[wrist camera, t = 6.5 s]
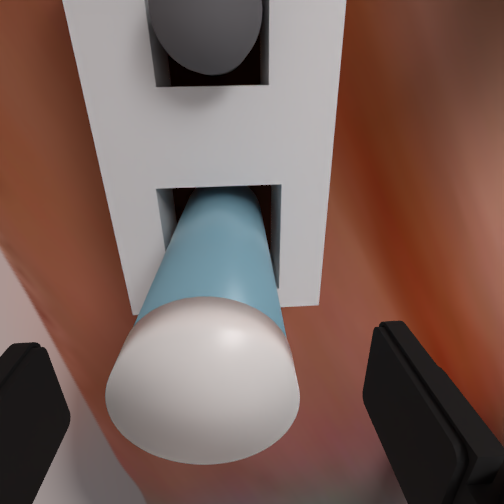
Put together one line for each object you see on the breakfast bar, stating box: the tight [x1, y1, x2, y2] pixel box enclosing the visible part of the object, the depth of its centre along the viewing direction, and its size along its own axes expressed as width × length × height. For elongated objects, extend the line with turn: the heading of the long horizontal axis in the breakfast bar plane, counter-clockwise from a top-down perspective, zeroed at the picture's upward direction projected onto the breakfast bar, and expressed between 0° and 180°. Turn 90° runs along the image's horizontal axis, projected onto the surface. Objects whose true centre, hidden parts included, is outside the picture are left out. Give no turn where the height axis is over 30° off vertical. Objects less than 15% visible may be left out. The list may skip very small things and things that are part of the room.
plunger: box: [148, 0, 262, 76], centre depth 13 cm, size 4×4×5 cm
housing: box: [62, 0, 346, 315], centre depth 16 cm, size 16×10×4 cm, turn 1°
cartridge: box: [105, 186, 300, 465], centre depth 14 cm, size 4×4×13 cm
